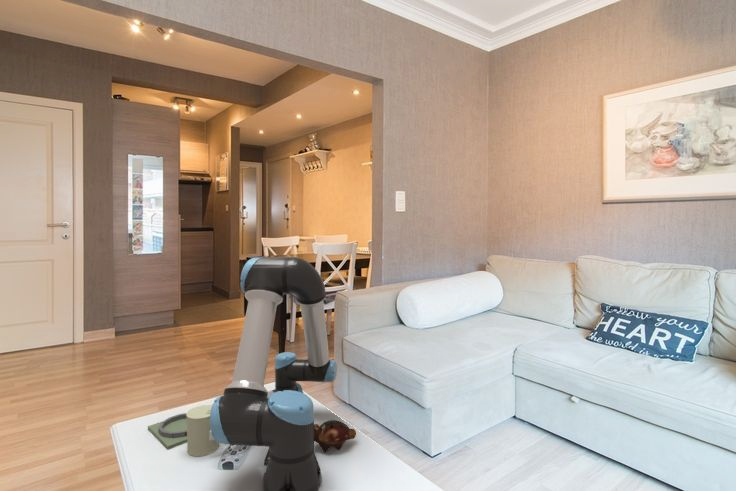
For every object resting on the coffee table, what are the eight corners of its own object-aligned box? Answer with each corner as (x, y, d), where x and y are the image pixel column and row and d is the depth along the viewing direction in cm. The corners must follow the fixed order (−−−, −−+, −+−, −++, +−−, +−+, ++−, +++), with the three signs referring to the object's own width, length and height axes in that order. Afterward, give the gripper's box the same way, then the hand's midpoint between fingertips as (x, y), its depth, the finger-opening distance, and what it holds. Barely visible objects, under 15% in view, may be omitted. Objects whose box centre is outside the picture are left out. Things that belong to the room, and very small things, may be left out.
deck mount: (218, 430, 134) (217, 423, 134) (167, 449, 123) (167, 441, 122) (195, 413, 147) (195, 406, 146) (147, 429, 135) (147, 421, 135)
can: (208, 458, 118) (207, 418, 117) (180, 454, 120) (179, 415, 119) (225, 441, 127) (224, 404, 126) (199, 438, 129) (198, 402, 128)
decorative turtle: (303, 445, 125) (304, 419, 125) (348, 437, 131) (349, 412, 131) (312, 459, 116) (313, 431, 116) (360, 450, 122) (361, 424, 123)
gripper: (282, 428, 130) (219, 455, 114) (244, 405, 147) (184, 425, 132) (282, 406, 129) (218, 430, 114) (243, 384, 147) (184, 403, 132)
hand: (200, 427), depth 123 cm, fingers open, 13 cm apart
